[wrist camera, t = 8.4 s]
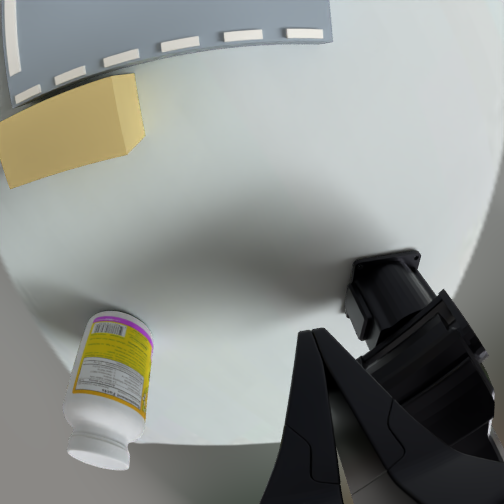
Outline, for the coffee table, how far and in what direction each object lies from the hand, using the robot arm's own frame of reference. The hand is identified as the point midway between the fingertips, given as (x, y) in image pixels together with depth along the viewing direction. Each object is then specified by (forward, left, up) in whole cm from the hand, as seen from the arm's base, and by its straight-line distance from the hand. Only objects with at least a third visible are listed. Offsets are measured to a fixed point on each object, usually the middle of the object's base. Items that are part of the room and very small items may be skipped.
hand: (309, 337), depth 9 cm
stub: (+11, -6, -12) cm, 17 cm away
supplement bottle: (+14, +12, -12) cm, 22 cm away
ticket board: (+5, -14, -12) cm, 19 cm away
